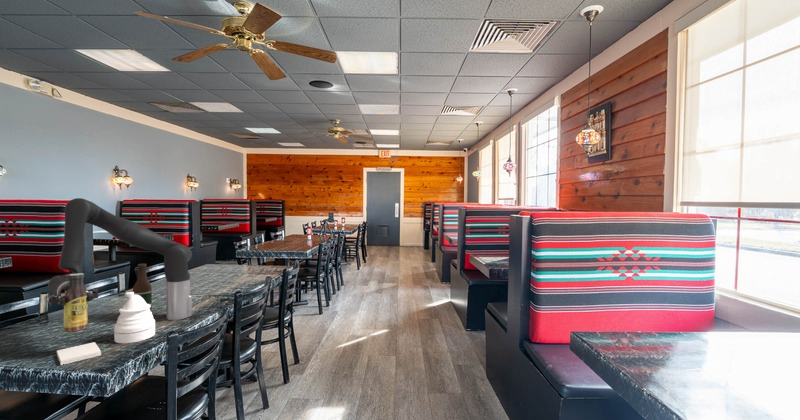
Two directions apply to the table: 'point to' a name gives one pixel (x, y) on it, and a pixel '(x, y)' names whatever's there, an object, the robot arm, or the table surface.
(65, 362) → the tile
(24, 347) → the table surface
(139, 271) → the beer bottle
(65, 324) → the sauce bottle
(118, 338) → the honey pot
